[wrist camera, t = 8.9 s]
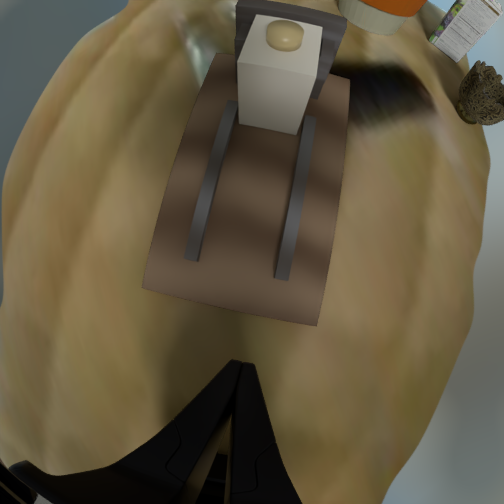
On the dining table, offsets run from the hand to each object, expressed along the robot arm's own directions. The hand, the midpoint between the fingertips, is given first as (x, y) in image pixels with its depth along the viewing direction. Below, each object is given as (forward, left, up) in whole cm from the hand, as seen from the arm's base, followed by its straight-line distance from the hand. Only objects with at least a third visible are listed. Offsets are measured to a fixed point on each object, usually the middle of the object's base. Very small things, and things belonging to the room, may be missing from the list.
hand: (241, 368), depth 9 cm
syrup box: (+44, -23, -13) cm, 51 cm away
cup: (+29, -23, -13) cm, 39 cm away
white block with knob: (+19, +1, -12) cm, 22 cm away
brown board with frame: (+13, +1, -13) cm, 18 cm away
